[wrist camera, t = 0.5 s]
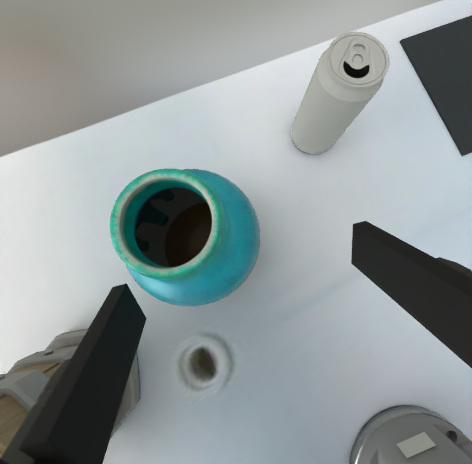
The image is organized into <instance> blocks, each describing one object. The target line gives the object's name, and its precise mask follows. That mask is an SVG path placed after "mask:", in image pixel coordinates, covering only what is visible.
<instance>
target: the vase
mask: <svg viewBox="0 0 472 464" xmlns="http://www.w3.org/2000/svg"><path fill="white" fill-rule="evenodd" d="M110 233H111V238H112V242H113V245H114V247H115V249H116V252H117V253H118V255H119V256H120V258H121V259H122V260H123V262H124V263H125V264H126V266H127V268H128V271H129V272H130V274H131V275H132V277H133V278H134V280H135V281H136V282H137V283H138V284H139V285H140V287H141V288H142V289H144V290H145V291H146V292H148V293H149V294H150V295H152V296H154V297H155V298H157V299H159V300H161V301H164V302H167V303H170V304H174V305H180V306H198V305H205V304H209V303H212V302H215V301H218V300H220V299H222V298H224V297H225V296H227V295H229V294H230V293H232V292H233V291H234V290H236V289H237V288H238V287H239V286H240V285H241V284H242V283H243V282H244V281H245V280H246V278H247V277H248V275H249V274H250V273H251V271H252V269H253V267H254V265H255V263H256V259H257V256H258V253H259V246H260V230H259V224H258V219H257V216H256V214H255V211H254V209H253V207H252V205H251V203H250V201H249V200H248V198H247V197H246V196H245V194H244V193H243V192H242V191H241V190H240V189H239V188H238V187H237V186H236V185H235V184H233V183H232V182H230V181H229V180H228V179H226V178H224V177H222V176H220V175H218V174H216V173H212V172H209V171H205V170H198V169H184V170H178V169H160V170H154V171H151V172H148V173H145V174H143V175H141V176H139V177H138V178H136V179H135V180H133V181H132V182H131V183H130V184H129V185H127V186H126V187H125V189H124V190H123V191H122V192H121V193H120V195H119V197H118V198H117V200H116V202H115V205H114V207H113V210H112V214H111V219H110Z"/></svg>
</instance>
